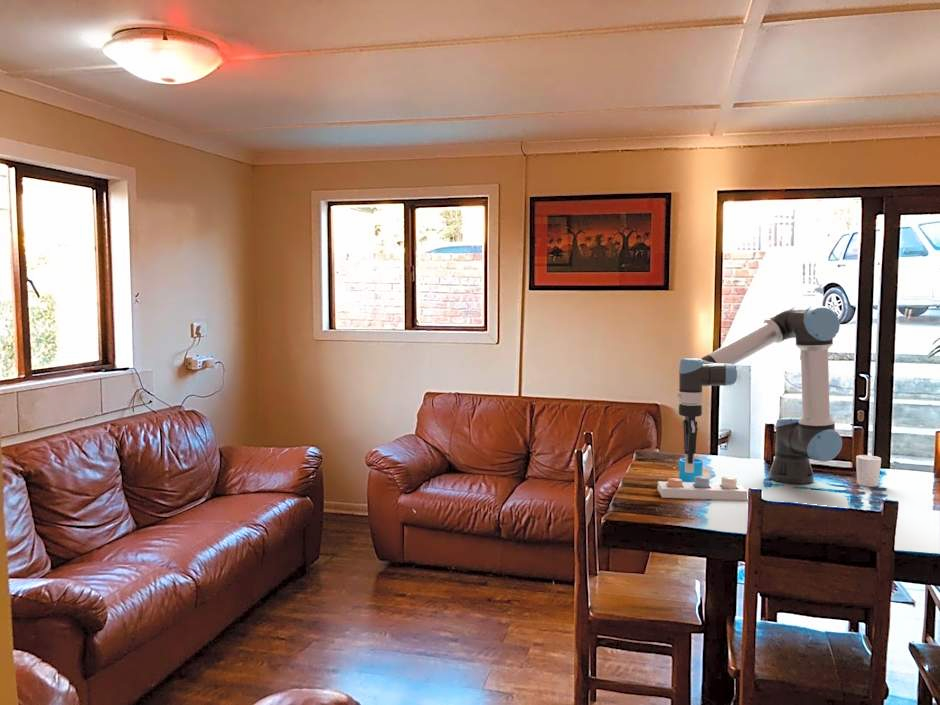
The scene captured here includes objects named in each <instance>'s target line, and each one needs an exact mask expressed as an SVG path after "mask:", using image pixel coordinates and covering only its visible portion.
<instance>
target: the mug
mask: <svg viewBox="0 0 940 705" xmlns="http://www.w3.org/2000/svg"><path fill="white" fill-rule="evenodd" d="M678 461H679V462H678V478H679V479H682V482H695V476H703V466H704V465H703V463H704V461H703V460H702V459H700V458H696V457H694V473H686V472H685V457H681V458H679V460H678Z"/></svg>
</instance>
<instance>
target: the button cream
mask: <svg viewBox="0 0 940 705" xmlns="http://www.w3.org/2000/svg"><path fill="white" fill-rule="evenodd" d="M721 483H722V484H721V488H722V489H736V484H738V482H737V478H736V477H734V476H733V477H732V476H722V477H721Z"/></svg>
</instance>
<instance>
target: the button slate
mask: <svg viewBox="0 0 940 705" xmlns="http://www.w3.org/2000/svg"><path fill="white" fill-rule="evenodd" d="M709 483H710V477H708V476H706V475H702V476H695V483H694V487H695V488H709Z"/></svg>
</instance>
